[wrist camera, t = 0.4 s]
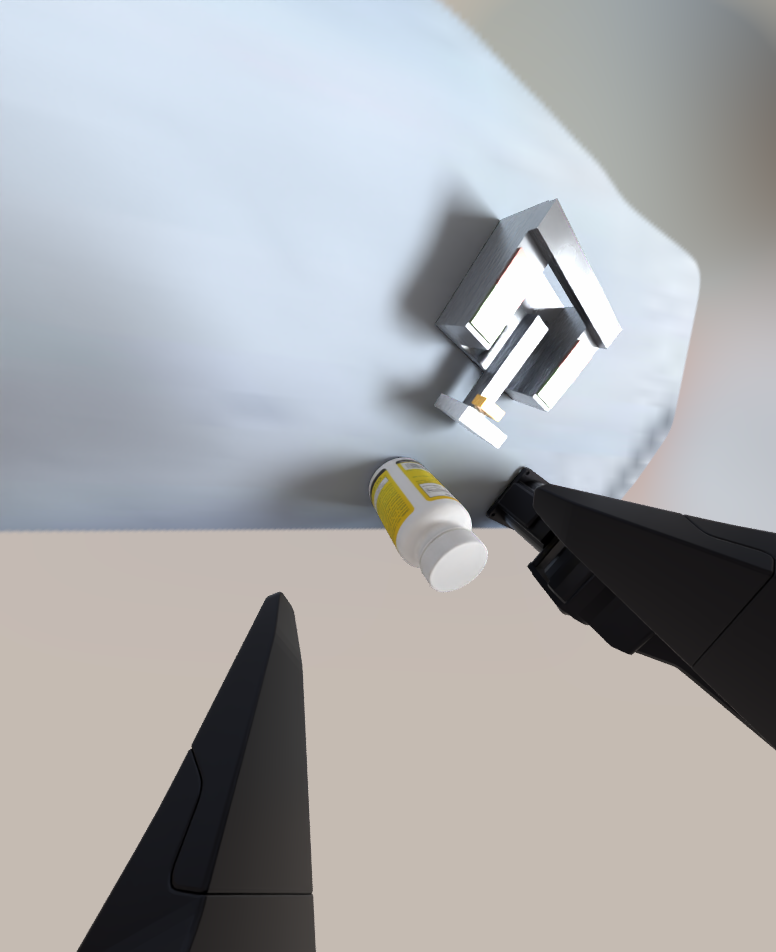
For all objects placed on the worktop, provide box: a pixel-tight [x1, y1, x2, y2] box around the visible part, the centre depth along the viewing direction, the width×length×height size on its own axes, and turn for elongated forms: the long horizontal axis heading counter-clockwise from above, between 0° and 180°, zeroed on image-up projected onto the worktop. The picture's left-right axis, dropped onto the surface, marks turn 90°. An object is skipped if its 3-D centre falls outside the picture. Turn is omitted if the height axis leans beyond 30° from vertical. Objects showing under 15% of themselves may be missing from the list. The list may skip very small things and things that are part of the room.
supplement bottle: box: [369, 457, 488, 592], centre depth 20 cm, size 5×5×10 cm
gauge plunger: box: [434, 315, 548, 448], centre depth 19 cm, size 4×8×3 cm, turn 144°
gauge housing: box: [435, 199, 622, 412], centre depth 19 cm, size 10×7×4 cm
